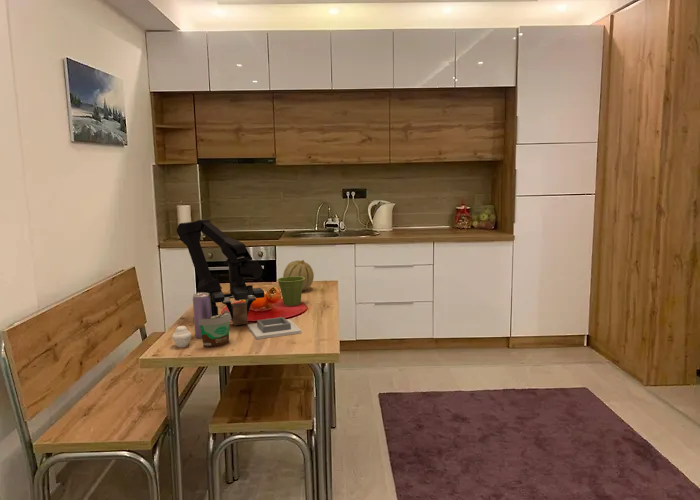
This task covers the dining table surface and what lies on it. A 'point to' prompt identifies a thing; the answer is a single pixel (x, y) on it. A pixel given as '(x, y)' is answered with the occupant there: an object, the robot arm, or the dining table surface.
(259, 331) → the socket base
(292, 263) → the cantaloupe
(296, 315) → the dining table surface
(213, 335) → the food container
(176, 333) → the white lidded jar
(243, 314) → the walnut peg
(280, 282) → the plant pot
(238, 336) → the dining table surface
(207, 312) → the beverage can
